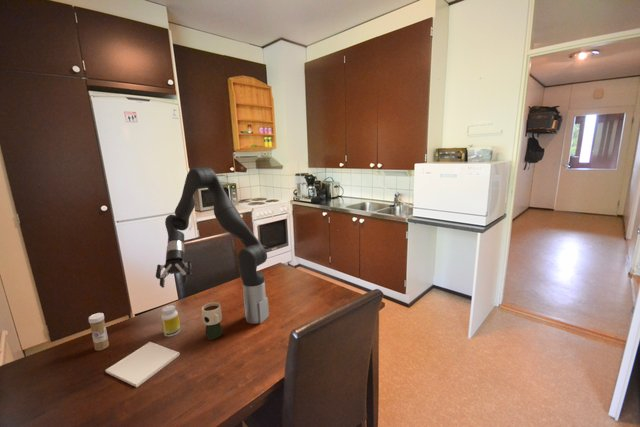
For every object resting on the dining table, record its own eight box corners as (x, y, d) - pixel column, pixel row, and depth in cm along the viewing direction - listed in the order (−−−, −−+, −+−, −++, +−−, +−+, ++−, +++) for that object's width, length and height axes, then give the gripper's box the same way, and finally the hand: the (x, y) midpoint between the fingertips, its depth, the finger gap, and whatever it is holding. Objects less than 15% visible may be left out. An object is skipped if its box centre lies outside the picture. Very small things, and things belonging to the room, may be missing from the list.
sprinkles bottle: (93, 352, 107) (86, 320, 104) (96, 345, 111) (90, 314, 108) (108, 349, 109) (101, 317, 106) (110, 342, 113) (104, 311, 110)
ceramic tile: (179, 355, 105) (179, 352, 104) (136, 387, 90) (136, 384, 90) (150, 343, 111) (149, 341, 111) (105, 372, 97) (105, 370, 97)
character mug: (200, 333, 117) (196, 304, 114) (217, 326, 122) (213, 298, 119) (211, 346, 109) (207, 315, 106) (228, 338, 114) (225, 308, 111)
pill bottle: (183, 329, 120) (180, 305, 118) (171, 338, 114) (168, 313, 112) (172, 326, 122) (168, 303, 120) (160, 335, 116) (156, 310, 114)
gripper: (156, 250, 129) (152, 285, 121) (190, 247, 133) (189, 280, 125) (160, 257, 136) (157, 290, 127) (193, 254, 139) (192, 286, 131)
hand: (173, 285), depth 126 cm, fingers open, 8 cm apart
